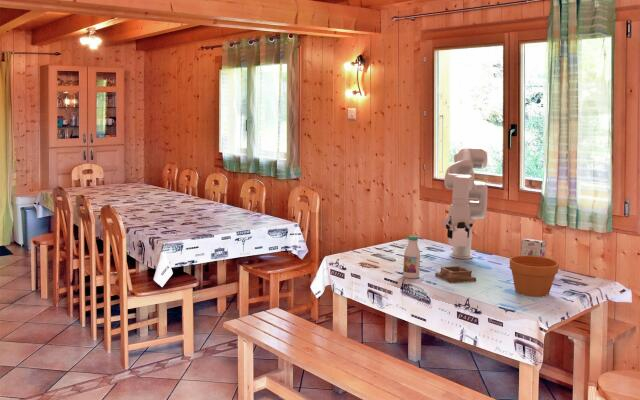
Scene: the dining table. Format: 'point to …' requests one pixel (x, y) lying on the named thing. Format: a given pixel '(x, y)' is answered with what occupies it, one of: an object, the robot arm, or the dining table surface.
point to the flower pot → (533, 274)
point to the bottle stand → (455, 274)
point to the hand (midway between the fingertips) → (458, 237)
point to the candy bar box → (533, 247)
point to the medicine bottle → (459, 236)
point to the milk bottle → (411, 258)
